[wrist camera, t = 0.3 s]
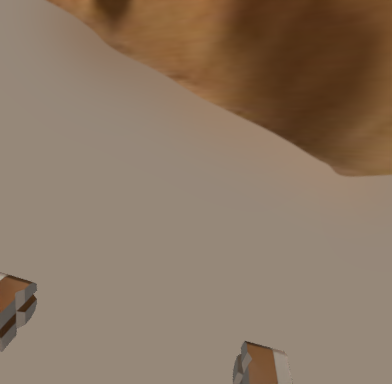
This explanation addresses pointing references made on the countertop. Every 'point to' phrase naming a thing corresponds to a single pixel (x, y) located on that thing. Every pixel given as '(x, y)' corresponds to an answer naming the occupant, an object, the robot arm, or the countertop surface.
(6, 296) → the robot arm
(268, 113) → the countertop surface
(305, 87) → the countertop surface
